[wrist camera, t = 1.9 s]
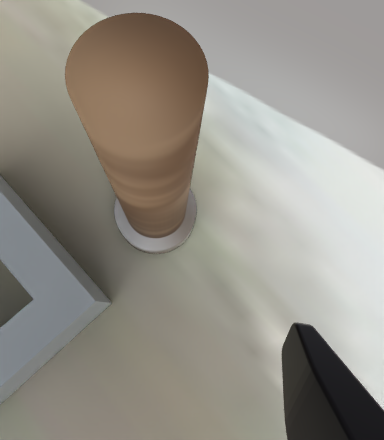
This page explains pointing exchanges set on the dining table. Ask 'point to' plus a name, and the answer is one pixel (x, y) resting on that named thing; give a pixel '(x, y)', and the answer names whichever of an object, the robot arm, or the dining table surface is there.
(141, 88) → the cleaning tool
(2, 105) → the dining table surface
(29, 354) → the tool holder
